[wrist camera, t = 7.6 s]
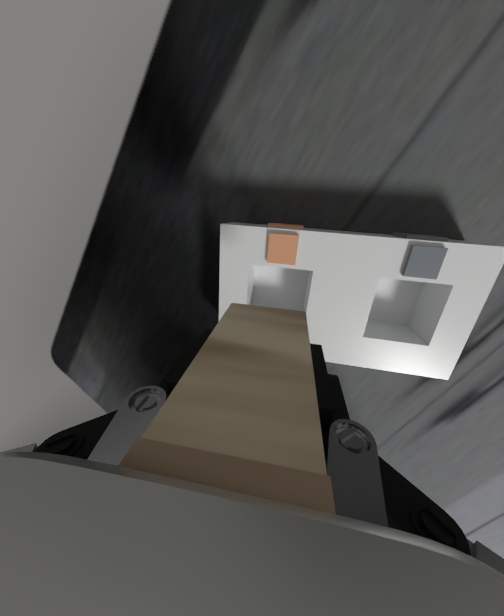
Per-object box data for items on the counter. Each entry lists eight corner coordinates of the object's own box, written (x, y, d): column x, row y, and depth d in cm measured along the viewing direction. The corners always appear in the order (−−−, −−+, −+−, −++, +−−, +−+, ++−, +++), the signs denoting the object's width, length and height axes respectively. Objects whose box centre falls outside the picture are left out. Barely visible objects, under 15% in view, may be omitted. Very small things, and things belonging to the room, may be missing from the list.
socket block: (421, 351, 26) (450, 382, 21) (230, 324, 29) (217, 347, 24) (466, 237, 22) (518, 243, 17) (234, 219, 24) (219, 220, 19)
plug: (296, 374, 14) (302, 686, 5) (228, 363, 14) (117, 628, 5) (306, 310, 12) (348, 599, 3) (230, 301, 13) (75, 527, 4)
